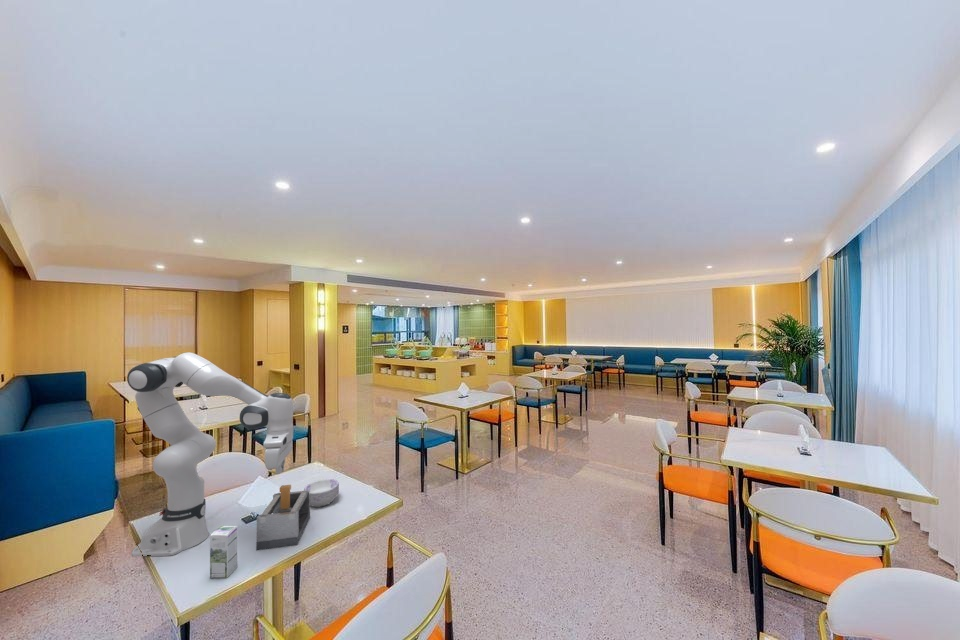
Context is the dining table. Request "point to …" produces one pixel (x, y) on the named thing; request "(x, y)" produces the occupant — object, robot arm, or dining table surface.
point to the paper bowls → (322, 491)
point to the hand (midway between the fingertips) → (280, 471)
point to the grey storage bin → (283, 522)
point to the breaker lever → (285, 498)
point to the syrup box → (223, 551)
